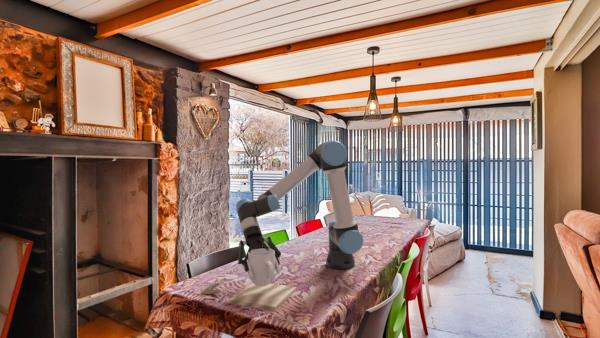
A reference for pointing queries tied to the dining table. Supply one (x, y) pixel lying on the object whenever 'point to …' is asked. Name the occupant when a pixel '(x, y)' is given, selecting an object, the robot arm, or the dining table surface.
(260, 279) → the mug
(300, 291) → the dining table surface
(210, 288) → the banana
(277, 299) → the board
